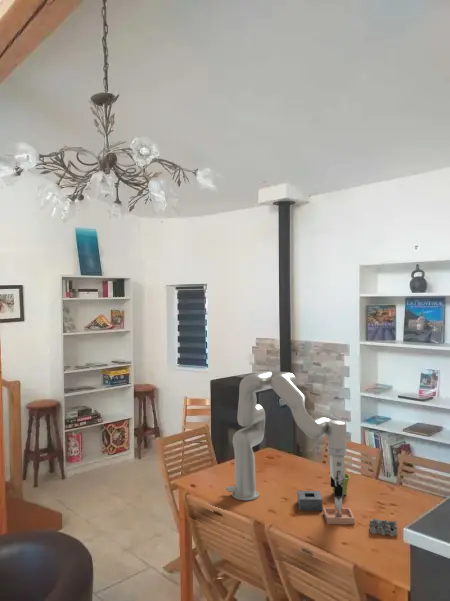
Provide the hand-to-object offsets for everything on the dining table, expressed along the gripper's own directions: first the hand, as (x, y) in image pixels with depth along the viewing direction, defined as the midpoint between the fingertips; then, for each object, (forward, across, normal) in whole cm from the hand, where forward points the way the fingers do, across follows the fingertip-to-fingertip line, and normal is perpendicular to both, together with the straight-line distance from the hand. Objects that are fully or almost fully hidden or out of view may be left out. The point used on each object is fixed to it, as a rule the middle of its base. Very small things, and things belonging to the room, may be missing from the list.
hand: (336, 491), depth 210 cm
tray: (+11, -1, -1) cm, 11 cm away
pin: (+11, 0, -1) cm, 11 cm away
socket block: (+12, +12, +10) cm, 20 cm away
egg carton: (+11, -12, -16) cm, 23 cm away
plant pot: (+12, +27, -6) cm, 31 cm away
